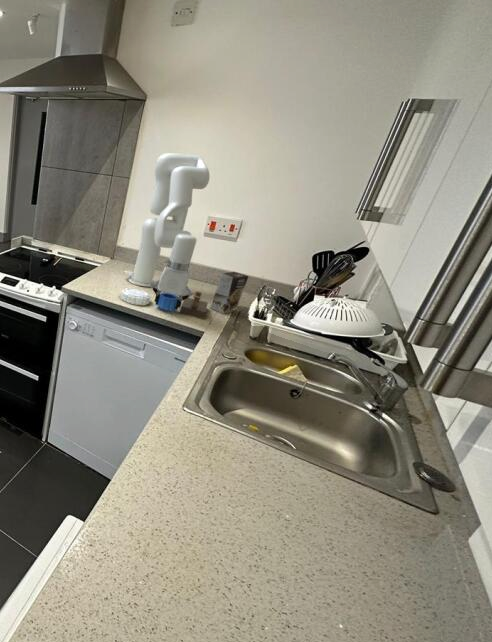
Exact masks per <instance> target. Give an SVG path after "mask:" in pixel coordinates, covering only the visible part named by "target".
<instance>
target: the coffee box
mask: <svg viewBox="0 0 492 642" xmlns="http://www.w3.org/2000/svg"><path fill="white" fill-rule="evenodd" d="M248 279H249V275H247V274H244V273H240V272H236V271H229V272H222V273H221V276H220V279H219V281H218V283H217V287H216V290H215V293H214V295H213V298H212V301H211V304H210V306H209V308H210V309H211V310H214V311H216V312H219V313H220V314H227V313H232V312H236V311H237V309H235V310H233V309H234V308H236V307H237V308H238V306H239V303H240V300H241V298H242V294H243V292H244V290H245V287H246V284H247V282H248Z"/></svg>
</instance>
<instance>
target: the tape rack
mask: <svg viewBox="0 0 492 642" xmlns="http://www.w3.org/2000/svg"><path fill="white" fill-rule="evenodd" d="M201 297H202V291H199V290H196V291H195V293H194V296H193V298H191V297H189V298H187V299H185V300H183V301H182V303H181V306H180V310H179V314H184V315H185V316H190V317H195V318H198V319H202V320H204V319H205V317H206V313H207V310H208V304H209V303H208V301H203V300H201Z"/></svg>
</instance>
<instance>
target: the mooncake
mask: <svg viewBox="0 0 492 642" xmlns="http://www.w3.org/2000/svg"><path fill="white" fill-rule="evenodd" d="M120 299H121V300H122V301H124V302H126V303H127V304H131V305H136V306H147V305H148V304H150V301H151V294H149V293H148V292H146V291H145V290H143V289H142V290H141V289H138V288H133V287H131V288H130V287H128V288H123V289H122V290H121V293H120Z"/></svg>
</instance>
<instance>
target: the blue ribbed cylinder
mask: <svg viewBox="0 0 492 642" xmlns="http://www.w3.org/2000/svg"><path fill="white" fill-rule="evenodd" d="M178 300H179V296H178V295H174V294H170V293H166V292H161V293H160V296H159V300H158V304H157V305H156V306H157V307H158V308H159V309H162V310H165V311H170V312H173V311H176V305H177V302H178Z"/></svg>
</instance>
